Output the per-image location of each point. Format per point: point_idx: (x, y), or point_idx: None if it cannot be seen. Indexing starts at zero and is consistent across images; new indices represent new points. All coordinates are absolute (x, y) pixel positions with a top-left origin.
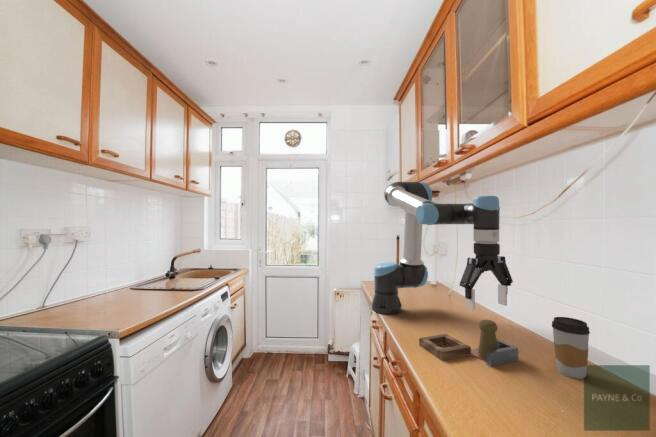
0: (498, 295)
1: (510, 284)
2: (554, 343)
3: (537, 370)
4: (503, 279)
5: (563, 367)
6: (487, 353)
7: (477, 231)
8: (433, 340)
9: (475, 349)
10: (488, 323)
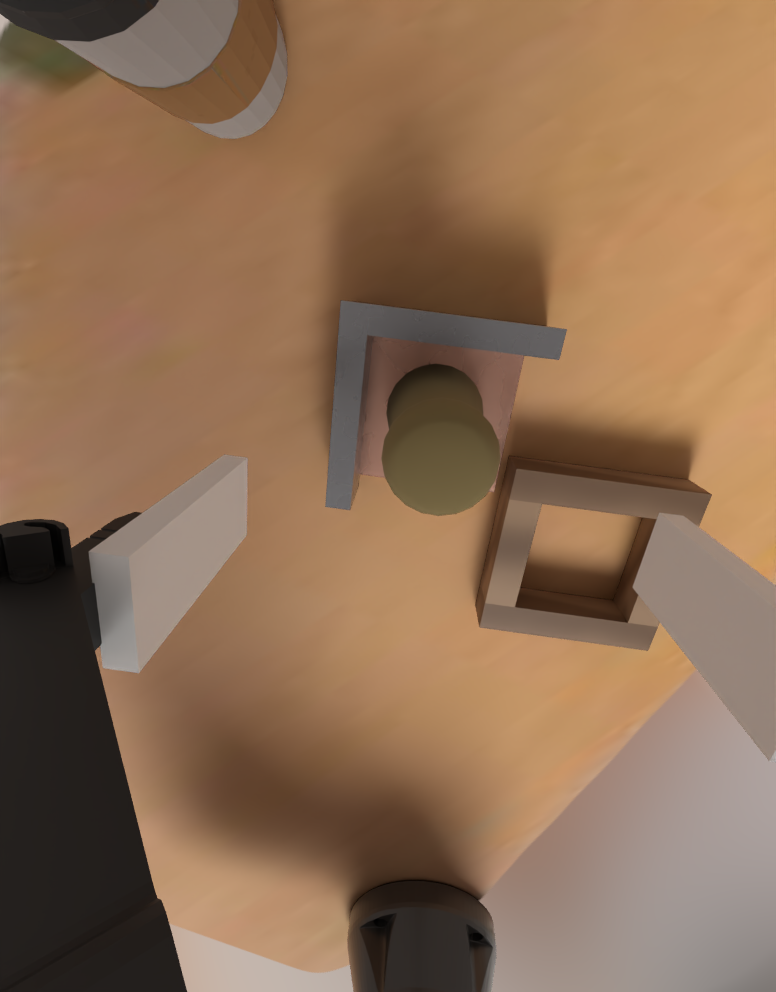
0: (214, 571)
1: (9, 528)
2: (221, 60)
3: (365, 183)
4: (71, 648)
5: (280, 50)
6: (560, 349)
7: None
8: (587, 611)
9: None
10: (478, 439)
